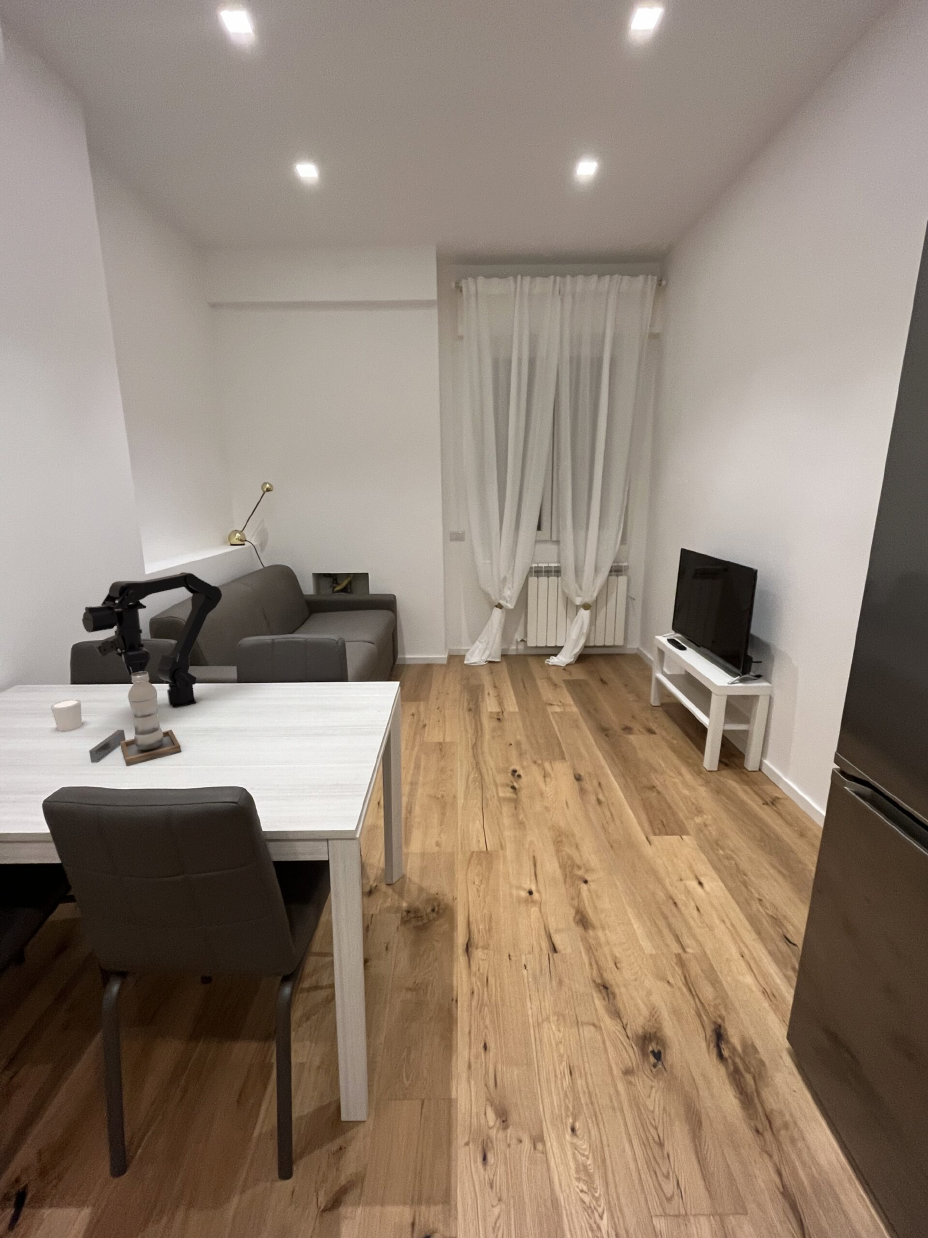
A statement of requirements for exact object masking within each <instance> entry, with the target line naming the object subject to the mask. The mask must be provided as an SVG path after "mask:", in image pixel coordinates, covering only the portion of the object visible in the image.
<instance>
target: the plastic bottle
mask: <svg viewBox="0 0 928 1238" xmlns="http://www.w3.org/2000/svg"><path fill="white" fill-rule="evenodd" d="M149 681H150V675H149V672H148V671H144V672H136V673H133V674H132V675H131V683H133V684H132V686H131V687H130V689H129V691H128V694H127V698H128V699H127V700H128V703H129V705H130V708H131V713H132V716H133V721H134V736H133V737H134V738H133V739H134V742H135V745H136V747H137V748H138V749H139V750H143V751H145V750H152V749H155V748H157V747H159V746H160V745H161V744H162V742H163V732H164V731H163V730H162V728H161V723H160V720H159V715H158V706H157V705H158V704H157V703H158V691H157V689H156V687H155V686H154V685H153V684H152V683H151V682H149Z"/></svg>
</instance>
